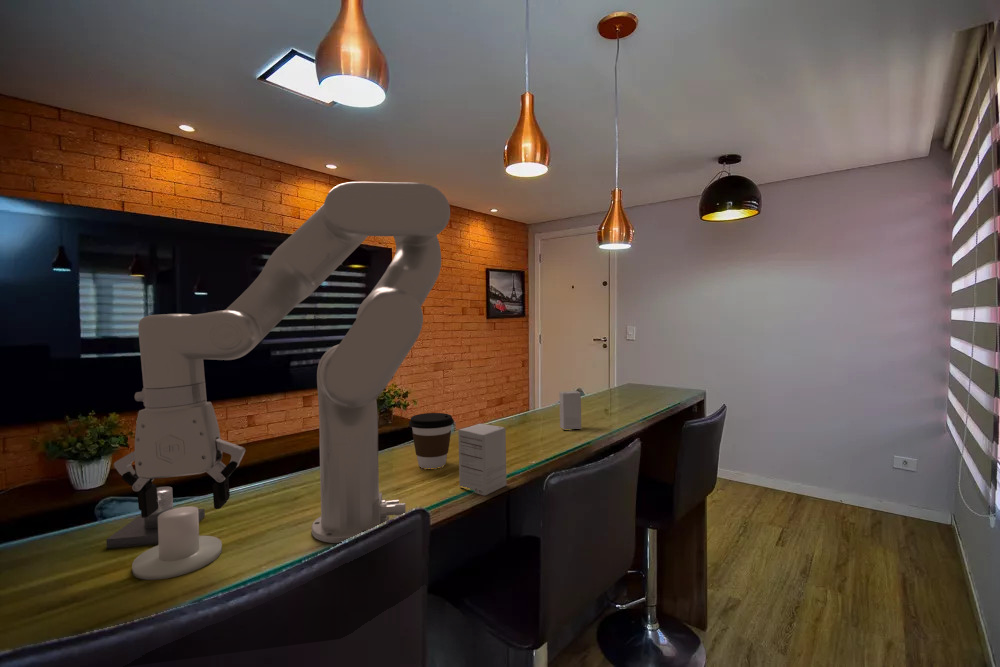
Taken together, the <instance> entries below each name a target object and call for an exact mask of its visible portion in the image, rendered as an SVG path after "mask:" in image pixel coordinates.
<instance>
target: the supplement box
mask: <svg viewBox="0 0 1000 667" xmlns="http://www.w3.org/2000/svg"><path fill="white" fill-rule="evenodd" d="M506 434H507V433H506V427H503V426H499V425H491V424H485V423H478V424H474V425H470V426H468V427H464V428H463V427H462V428H460V429H458V464H459V465H458V468H459V470H458V472H459V473H458V474H459V476H458V477H459V478H458V479H459V487H460V486H463V487H467V488H470V489H472V490H474V491H475V493H474V494H477V495H481V496H484V497H485V496H487V495H490V494H491V493H494V492H496V491H497V490H500V489H502V488H504V487H506V486H507V448H506V447H507V445H506V444H507V440H506V436H507V435H506Z"/></svg>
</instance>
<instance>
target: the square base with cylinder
mask: <svg viewBox="0 0 1000 667" xmlns="http://www.w3.org/2000/svg"><path fill="white" fill-rule="evenodd" d="M173 492H174V491H173V487H171V486H157V497H158V509H157V510H156V511H155V512H153V513H152V514H151V515H149V516H148V517H146V518H142V516H141V514H140V515H139V516H137V517H136V518H134V519H133V520H131V521H130V522H129V523H127V524H126V525H124V526H123V527H122V528H120V529H118V531H115V533H113V534H112V535H110V536H109V537H107V538H106V541H105V542H106V549H116V548H119V549H120V548H129V547H141V546H142V547H143V546H152V545H154V546H155V545H158V516H159V515H160V514H161V513H163V512H165V511H168V510H171V509H174V497H173V495H174V494H173ZM198 515H199V523H200V522H201V521H202V520H203V519H204V518H205V517H206V516H205V508H198Z"/></svg>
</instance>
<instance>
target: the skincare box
mask: <svg viewBox="0 0 1000 667" xmlns="http://www.w3.org/2000/svg"><path fill="white" fill-rule="evenodd" d="M581 394H582V393H581V392H579V391H578V390H568V391H566V390H565V391H559V395H558V398H559V428H560V427H561V428H563V429H564V430H565V429H581V430H582V395H581ZM561 428H560V429H561Z"/></svg>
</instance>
